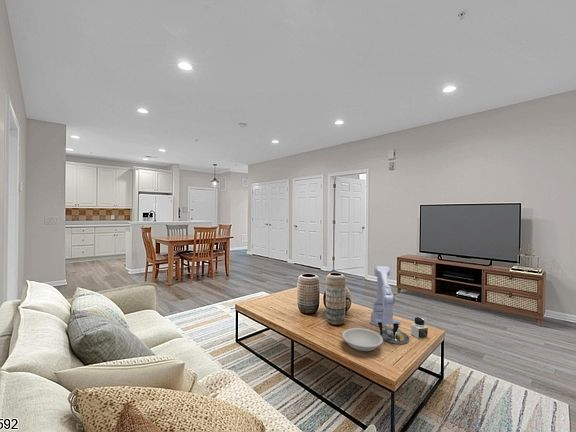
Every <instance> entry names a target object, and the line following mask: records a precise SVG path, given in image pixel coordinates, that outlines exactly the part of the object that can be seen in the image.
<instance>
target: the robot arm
mask: <svg viewBox="0 0 576 432" xmlns="http://www.w3.org/2000/svg"><path fill="white" fill-rule="evenodd" d="M373 272H374V277H376V278H377V279H376V298H375V299H373V300H372V305H371V306H372V307H371V308H372V311H371V313H370V322H369V323H370V324H372V325H374V326H376V327H379V335H380V334H381V335H382V330H383V327H384V328H385V326H386V325H393V326H392V328H393V335H394V336H395V333H396V331H397V329H399V327H400V326H401V321H400V320H397V319H394V305H395V302H396V301H395V300H396V299H395V295H394V293H393V291H392V287H391V285H390V284H389V276H390V275H391V267H389V265H387V266H384V265H375V266H374V271H373Z"/></svg>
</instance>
